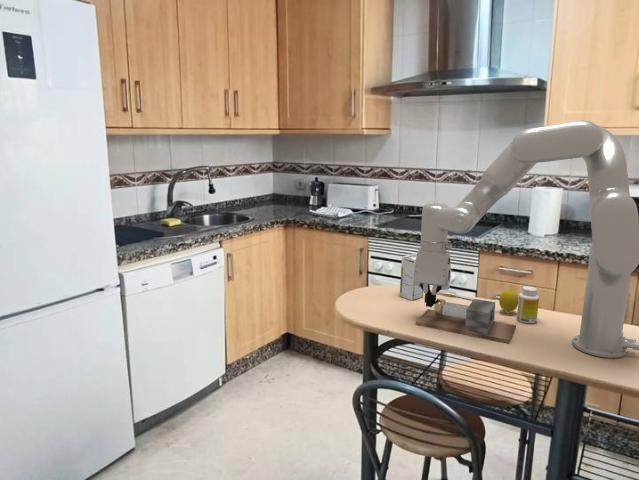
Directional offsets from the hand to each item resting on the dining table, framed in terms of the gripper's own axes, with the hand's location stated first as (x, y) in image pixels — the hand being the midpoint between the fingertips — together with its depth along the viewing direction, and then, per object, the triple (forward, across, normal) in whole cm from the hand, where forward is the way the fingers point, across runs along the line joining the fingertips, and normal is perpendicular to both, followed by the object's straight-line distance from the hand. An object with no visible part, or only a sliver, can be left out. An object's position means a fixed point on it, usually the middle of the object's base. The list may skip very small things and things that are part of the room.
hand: (429, 305), depth 148 cm
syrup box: (+5, +11, -17) cm, 21 cm away
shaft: (+3, -8, 0) cm, 9 cm away
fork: (+5, -4, -25) cm, 26 cm away
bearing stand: (+4, -11, 0) cm, 12 cm away
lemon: (+5, -20, -18) cm, 27 cm away
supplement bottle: (+5, -26, -14) cm, 30 cm away
